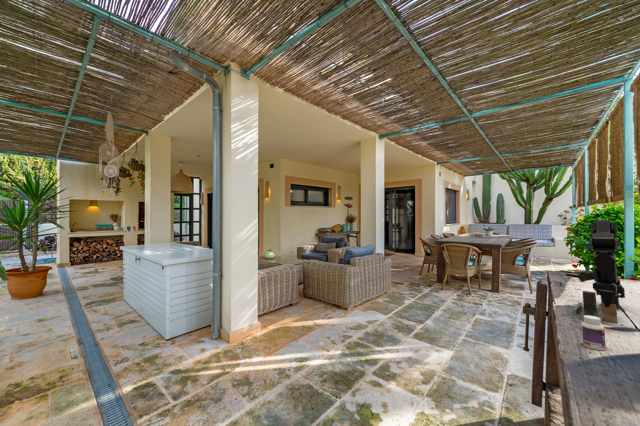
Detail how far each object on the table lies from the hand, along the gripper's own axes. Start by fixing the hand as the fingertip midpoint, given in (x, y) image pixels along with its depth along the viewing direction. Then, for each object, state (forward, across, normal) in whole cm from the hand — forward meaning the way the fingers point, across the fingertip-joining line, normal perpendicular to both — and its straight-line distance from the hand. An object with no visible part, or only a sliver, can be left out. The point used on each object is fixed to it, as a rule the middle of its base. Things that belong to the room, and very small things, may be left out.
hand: (608, 304), depth 107 cm
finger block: (+8, 0, 0) cm, 8 cm away
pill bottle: (+8, +32, -1) cm, 33 cm away
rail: (+8, -9, -7) cm, 14 cm away
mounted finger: (+7, -14, -7) cm, 17 cm away
